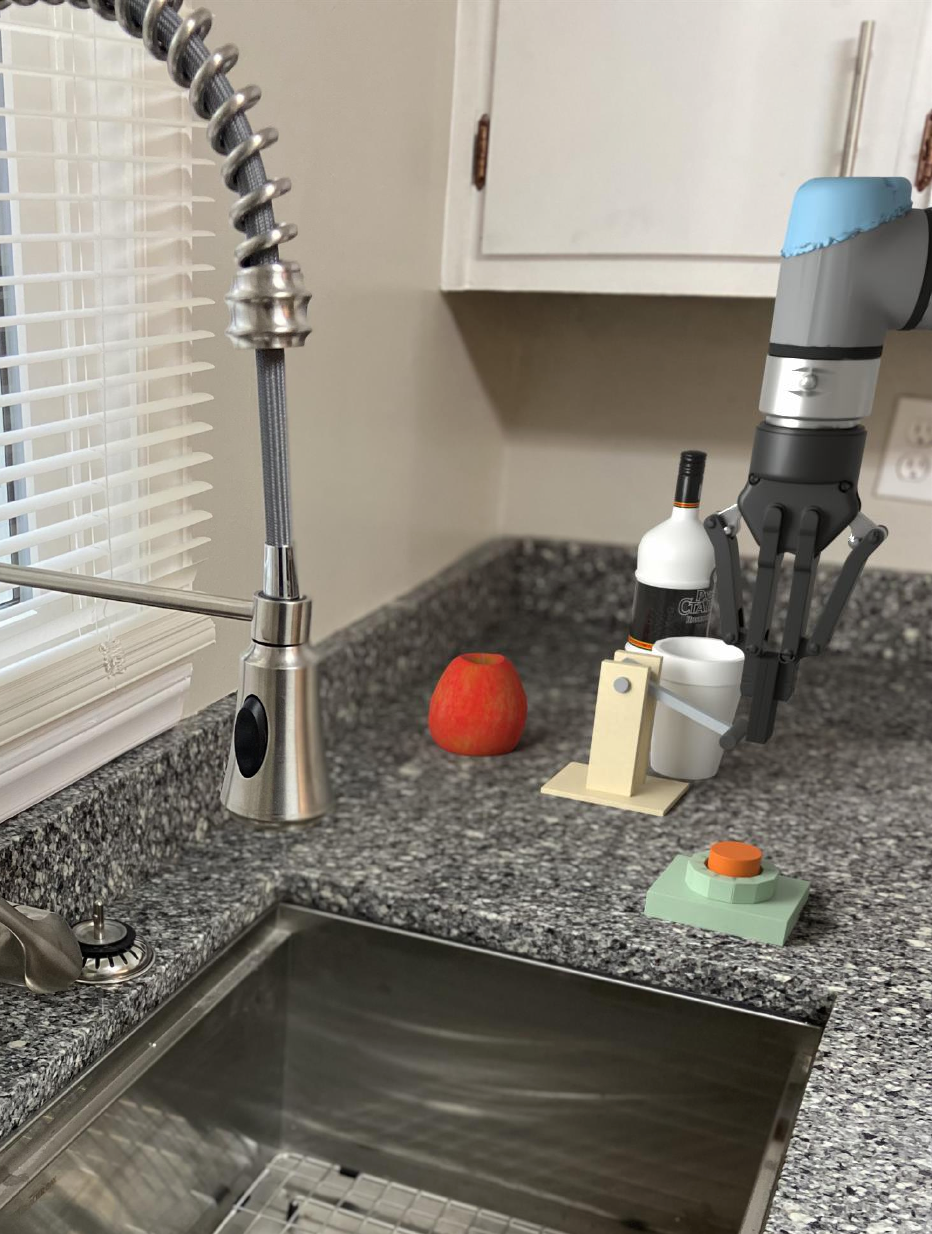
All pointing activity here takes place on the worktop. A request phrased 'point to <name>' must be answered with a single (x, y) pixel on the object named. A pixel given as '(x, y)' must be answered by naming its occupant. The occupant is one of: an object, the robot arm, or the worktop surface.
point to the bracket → (621, 743)
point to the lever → (699, 714)
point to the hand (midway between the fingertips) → (758, 737)
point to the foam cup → (706, 681)
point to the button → (734, 859)
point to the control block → (728, 899)
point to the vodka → (675, 568)
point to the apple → (478, 706)
